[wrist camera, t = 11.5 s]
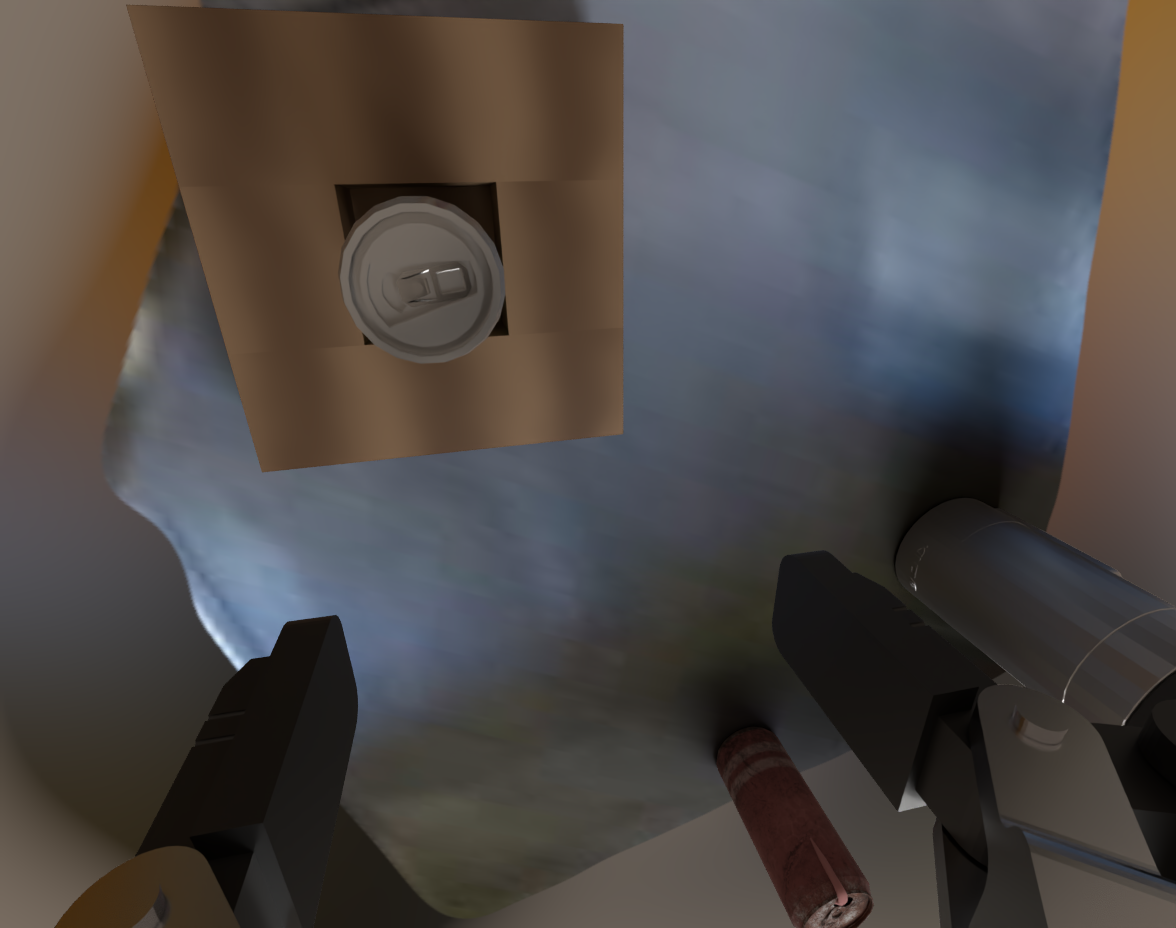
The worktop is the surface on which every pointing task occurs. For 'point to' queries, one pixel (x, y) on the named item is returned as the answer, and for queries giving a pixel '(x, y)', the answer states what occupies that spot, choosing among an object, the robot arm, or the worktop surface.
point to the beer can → (421, 279)
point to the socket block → (383, 172)
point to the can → (792, 834)
